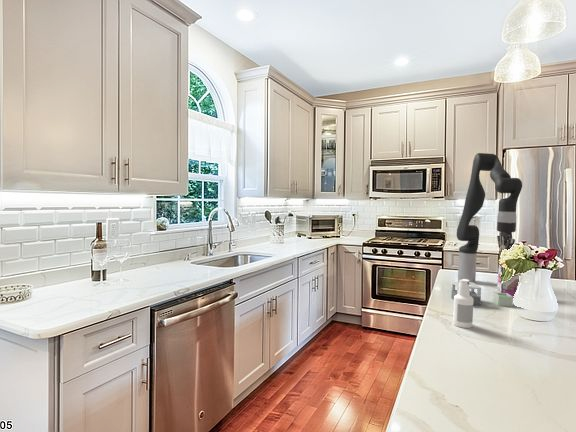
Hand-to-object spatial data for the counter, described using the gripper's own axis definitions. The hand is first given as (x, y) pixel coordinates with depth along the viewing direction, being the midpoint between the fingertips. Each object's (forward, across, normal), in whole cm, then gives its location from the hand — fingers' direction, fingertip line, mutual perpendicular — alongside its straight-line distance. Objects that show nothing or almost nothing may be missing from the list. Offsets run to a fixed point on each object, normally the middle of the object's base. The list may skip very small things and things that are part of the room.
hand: (504, 258), depth 165 cm
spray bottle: (+22, +32, -27) cm, 47 cm away
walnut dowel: (+7, 0, 0) cm, 7 cm away
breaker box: (+22, -1, -16) cm, 27 cm away
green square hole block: (+22, 0, 0) cm, 22 cm away
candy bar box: (+22, -16, +10) cm, 29 cm away
